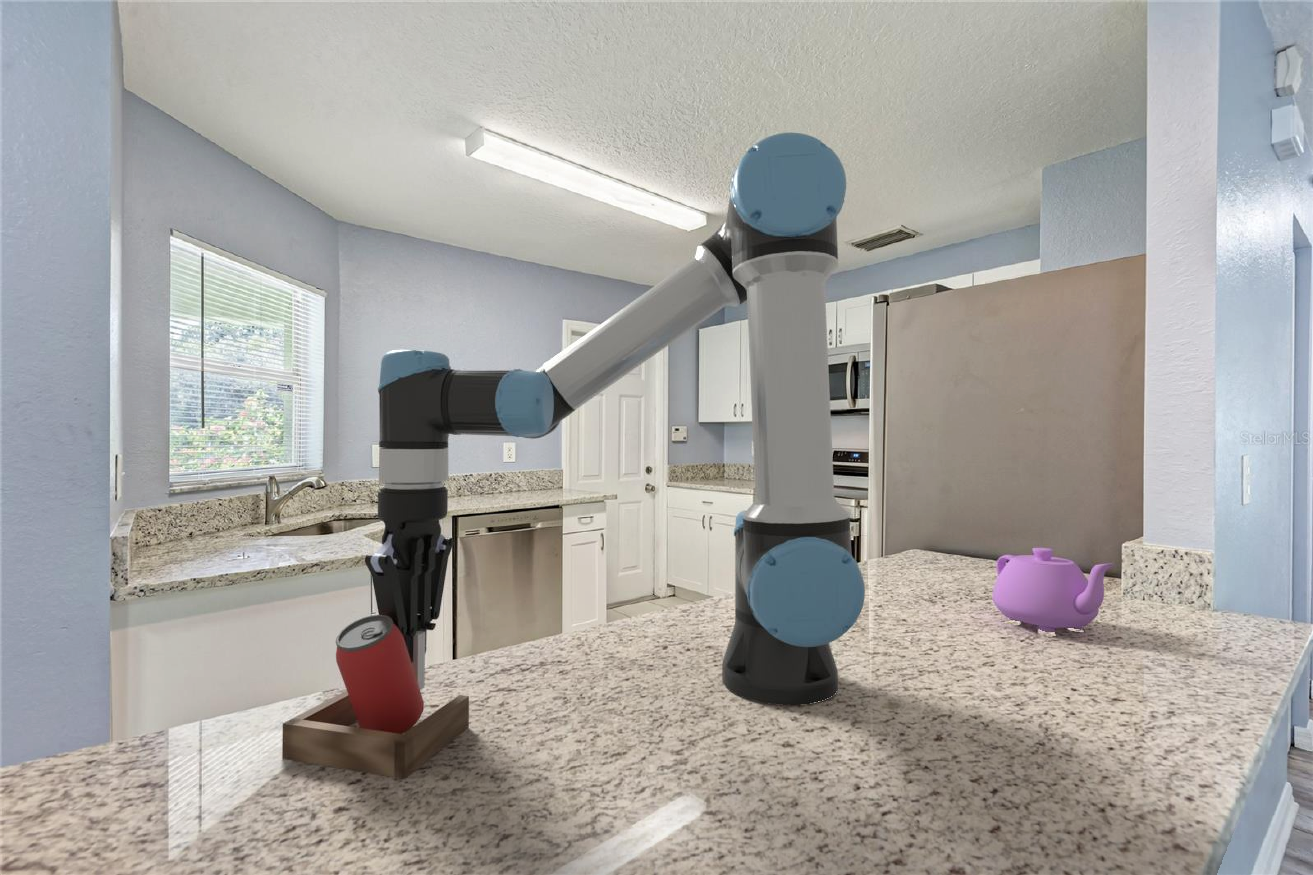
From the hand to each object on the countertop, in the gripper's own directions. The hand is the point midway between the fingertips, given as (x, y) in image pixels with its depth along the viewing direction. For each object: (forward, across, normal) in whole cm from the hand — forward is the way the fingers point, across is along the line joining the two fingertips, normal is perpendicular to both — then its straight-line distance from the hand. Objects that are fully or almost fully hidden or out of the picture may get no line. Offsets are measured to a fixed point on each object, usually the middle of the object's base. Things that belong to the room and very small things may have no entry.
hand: (410, 687), depth 70 cm
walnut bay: (+3, +5, +1) cm, 6 cm away
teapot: (+3, -59, +84) cm, 103 cm away
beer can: (+2, +3, 0) cm, 4 cm away
